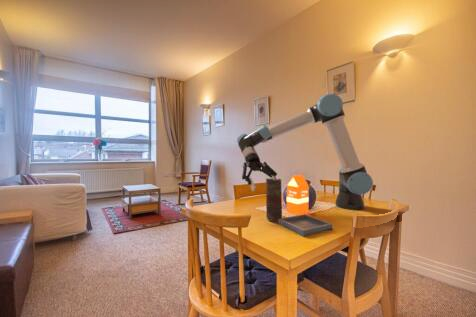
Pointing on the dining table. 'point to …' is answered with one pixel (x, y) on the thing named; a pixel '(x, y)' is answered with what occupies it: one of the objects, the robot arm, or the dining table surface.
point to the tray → (305, 224)
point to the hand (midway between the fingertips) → (265, 188)
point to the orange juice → (297, 195)
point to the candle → (273, 199)
